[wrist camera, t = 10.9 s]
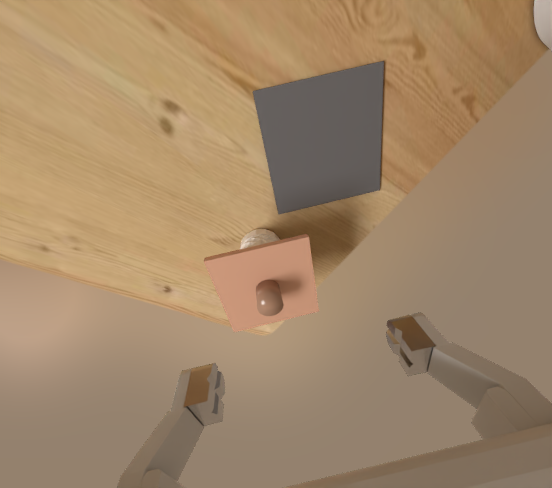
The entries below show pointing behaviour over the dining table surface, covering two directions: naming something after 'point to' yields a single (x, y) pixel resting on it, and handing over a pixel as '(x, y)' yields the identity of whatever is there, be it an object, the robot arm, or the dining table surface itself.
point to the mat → (323, 136)
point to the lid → (265, 282)
